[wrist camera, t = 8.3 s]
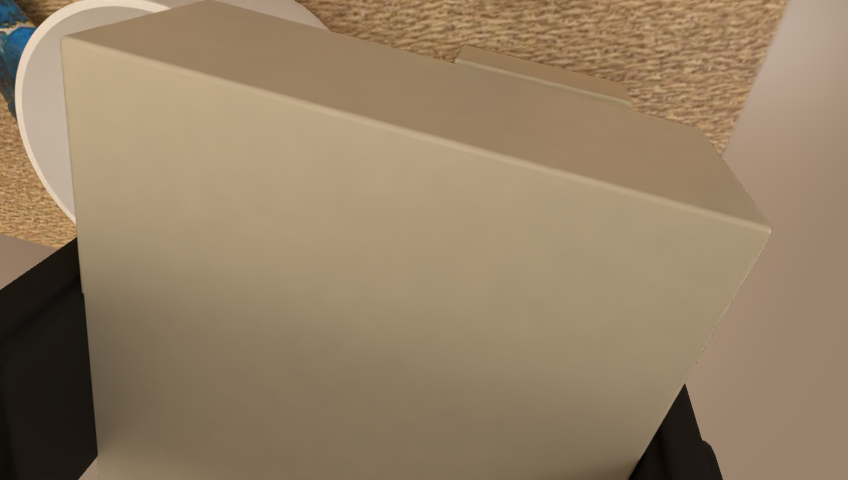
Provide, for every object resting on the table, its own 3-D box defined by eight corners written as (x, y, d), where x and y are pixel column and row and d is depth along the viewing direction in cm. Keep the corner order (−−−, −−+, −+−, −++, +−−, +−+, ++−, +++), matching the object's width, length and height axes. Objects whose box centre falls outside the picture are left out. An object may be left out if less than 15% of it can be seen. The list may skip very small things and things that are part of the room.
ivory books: (624, 83, 26) (645, 125, 21) (556, 266, 31) (559, 338, 26) (463, 43, 26) (444, 75, 21) (420, 231, 31) (396, 294, 26)
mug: (167, 44, 29) (-44, 119, 18) (297, -83, 25) (126, -81, 15) (326, 229, 32) (224, 381, 22) (460, 140, 29) (415, 270, 18)
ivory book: (707, 128, 8) (782, 231, 5) (512, 540, 13) (502, 702, 10) (207, -2, 8) (55, 34, 6) (193, 444, 13) (105, 576, 10)
